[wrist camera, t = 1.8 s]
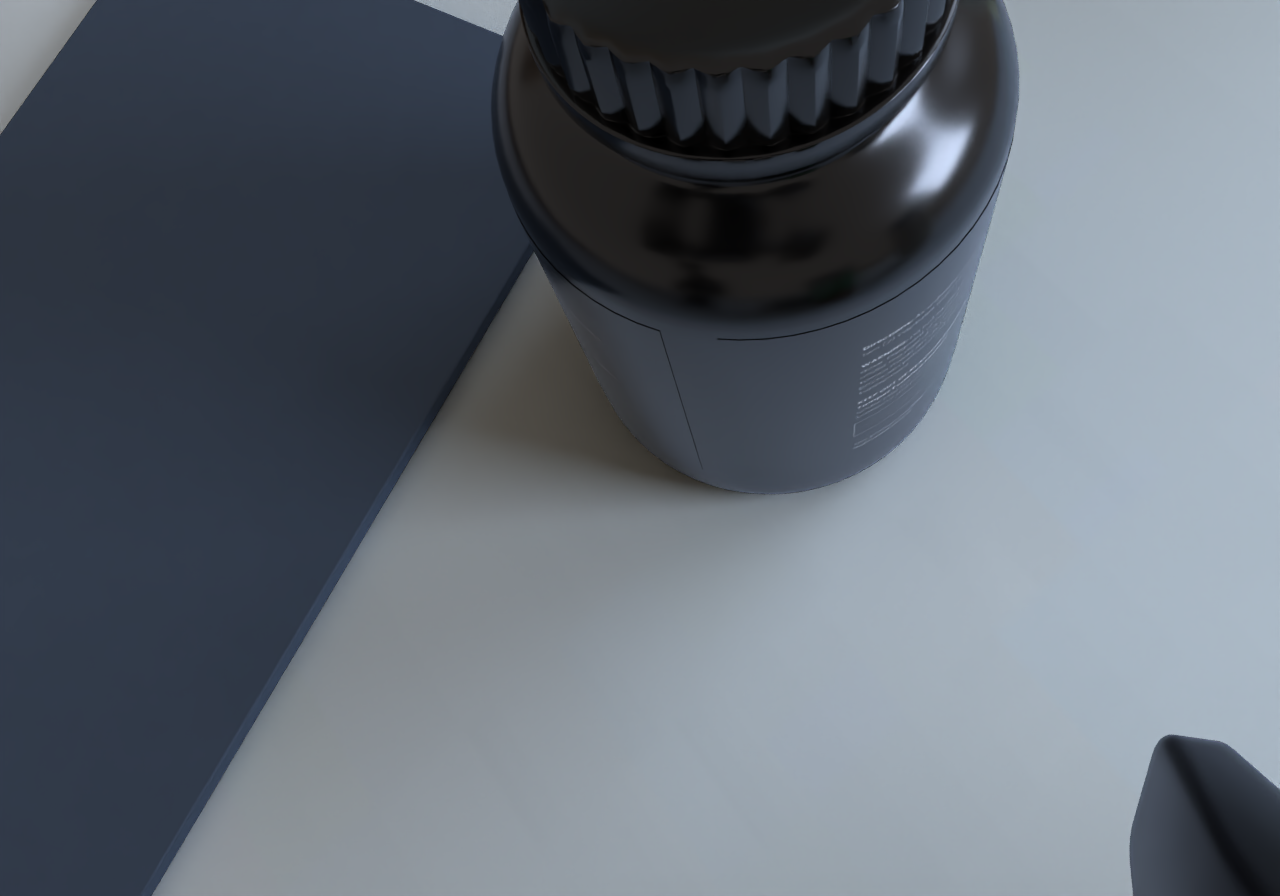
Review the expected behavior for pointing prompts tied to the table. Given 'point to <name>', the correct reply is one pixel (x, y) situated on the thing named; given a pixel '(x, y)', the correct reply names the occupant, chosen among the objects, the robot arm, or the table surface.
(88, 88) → the rubber mat
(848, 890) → the table surface
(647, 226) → the supplement bottle
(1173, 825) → the robot arm
